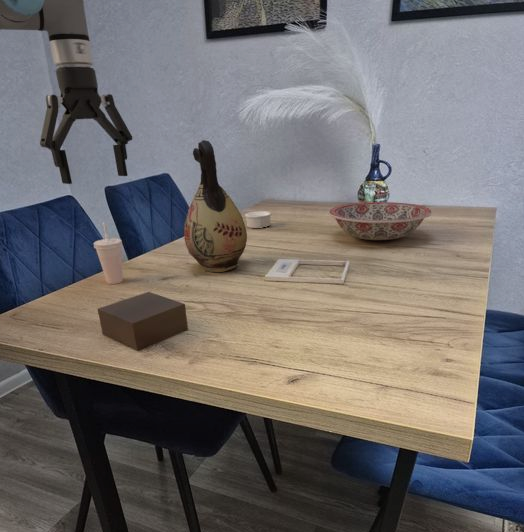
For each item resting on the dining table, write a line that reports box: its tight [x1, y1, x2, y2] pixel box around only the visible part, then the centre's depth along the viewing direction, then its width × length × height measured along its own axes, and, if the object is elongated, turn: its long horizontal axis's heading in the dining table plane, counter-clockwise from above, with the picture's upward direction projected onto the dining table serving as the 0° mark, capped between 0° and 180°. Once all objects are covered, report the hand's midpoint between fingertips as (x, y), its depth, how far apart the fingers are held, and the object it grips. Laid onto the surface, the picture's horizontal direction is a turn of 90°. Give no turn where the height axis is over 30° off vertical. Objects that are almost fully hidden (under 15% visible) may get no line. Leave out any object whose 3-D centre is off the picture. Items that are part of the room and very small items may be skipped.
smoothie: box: [93, 221, 124, 285], centre depth 110 cm, size 6×6×14 cm
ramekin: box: [244, 211, 272, 228], centre depth 161 cm, size 9×9×4 cm
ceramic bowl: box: [328, 201, 433, 241], centre depth 139 cm, size 29×29×8 cm
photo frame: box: [264, 258, 351, 285], centre depth 113 cm, size 15×1×18 cm
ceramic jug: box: [183, 139, 248, 273], centre depth 113 cm, size 17×15×30 cm
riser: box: [97, 291, 189, 352], centre depth 85 cm, size 11×11×5 cm
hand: (96, 179), depth 104 cm, fingers open, 13 cm apart
